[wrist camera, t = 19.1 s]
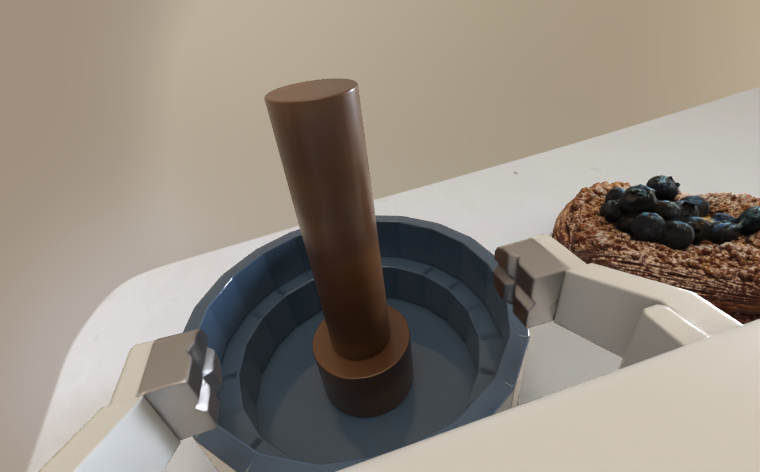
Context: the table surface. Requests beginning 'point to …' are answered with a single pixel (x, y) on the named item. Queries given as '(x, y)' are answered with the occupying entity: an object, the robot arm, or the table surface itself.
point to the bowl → (300, 371)
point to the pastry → (671, 239)
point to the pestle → (342, 245)
